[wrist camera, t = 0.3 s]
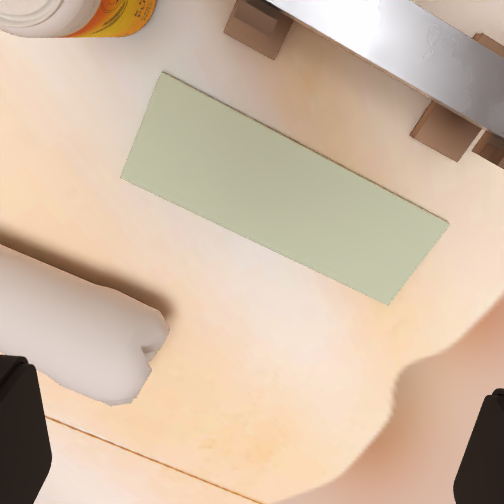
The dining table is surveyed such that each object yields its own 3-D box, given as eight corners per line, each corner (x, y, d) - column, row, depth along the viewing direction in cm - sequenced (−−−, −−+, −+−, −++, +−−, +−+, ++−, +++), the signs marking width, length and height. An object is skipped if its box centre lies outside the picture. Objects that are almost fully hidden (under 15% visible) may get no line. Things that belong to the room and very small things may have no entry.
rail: (213, -27, 24) (205, -35, 21) (238, -91, 22) (234, -108, 20) (546, 166, 27) (577, 180, 24) (583, 120, 26) (620, 129, 23)
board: (162, 71, 34) (161, 72, 34) (447, 221, 38) (449, 224, 38) (122, 175, 38) (120, 177, 37) (386, 302, 42) (388, 305, 41)
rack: (277, -90, 30) (282, -158, 19) (520, 61, 33) (636, 73, 23) (224, 32, 33) (204, 30, 22) (451, 158, 36) (525, 208, 26)
